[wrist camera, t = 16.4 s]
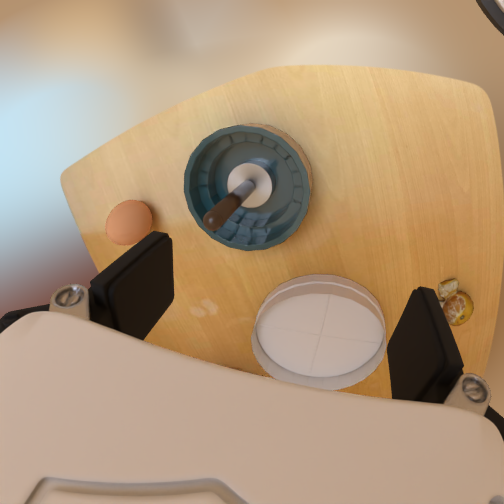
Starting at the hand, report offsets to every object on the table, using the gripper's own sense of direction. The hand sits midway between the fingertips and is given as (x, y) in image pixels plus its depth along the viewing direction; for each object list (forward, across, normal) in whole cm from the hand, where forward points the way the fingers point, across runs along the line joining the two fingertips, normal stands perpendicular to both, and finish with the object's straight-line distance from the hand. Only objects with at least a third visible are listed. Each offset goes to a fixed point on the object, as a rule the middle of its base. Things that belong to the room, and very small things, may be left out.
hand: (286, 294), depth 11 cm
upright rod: (+30, +8, +4) cm, 31 cm away
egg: (+31, +26, +12) cm, 42 cm away
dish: (+31, -6, +27) cm, 41 cm away
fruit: (+31, -26, +16) cm, 43 cm away
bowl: (+30, +8, +4) cm, 32 cm away
